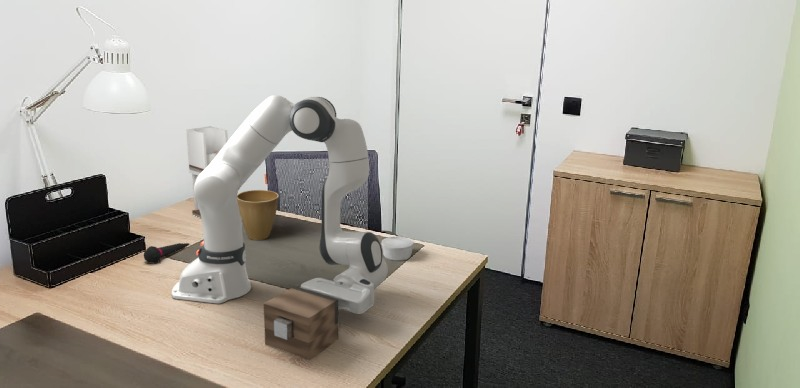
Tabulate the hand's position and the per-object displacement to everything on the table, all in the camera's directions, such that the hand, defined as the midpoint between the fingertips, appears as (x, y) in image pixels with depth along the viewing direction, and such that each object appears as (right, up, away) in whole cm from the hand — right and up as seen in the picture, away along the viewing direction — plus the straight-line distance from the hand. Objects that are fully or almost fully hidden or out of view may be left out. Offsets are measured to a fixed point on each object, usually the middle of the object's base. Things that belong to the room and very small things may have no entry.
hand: (317, 306), depth 161 cm
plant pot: (-31, +13, +67) cm, 75 cm away
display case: (-55, +20, +89) cm, 106 cm away
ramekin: (+20, +8, +53) cm, 58 cm away
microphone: (-57, +8, +49) cm, 75 cm away
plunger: (-4, -4, -6) cm, 8 cm away
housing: (-4, -8, -4) cm, 10 cm away
